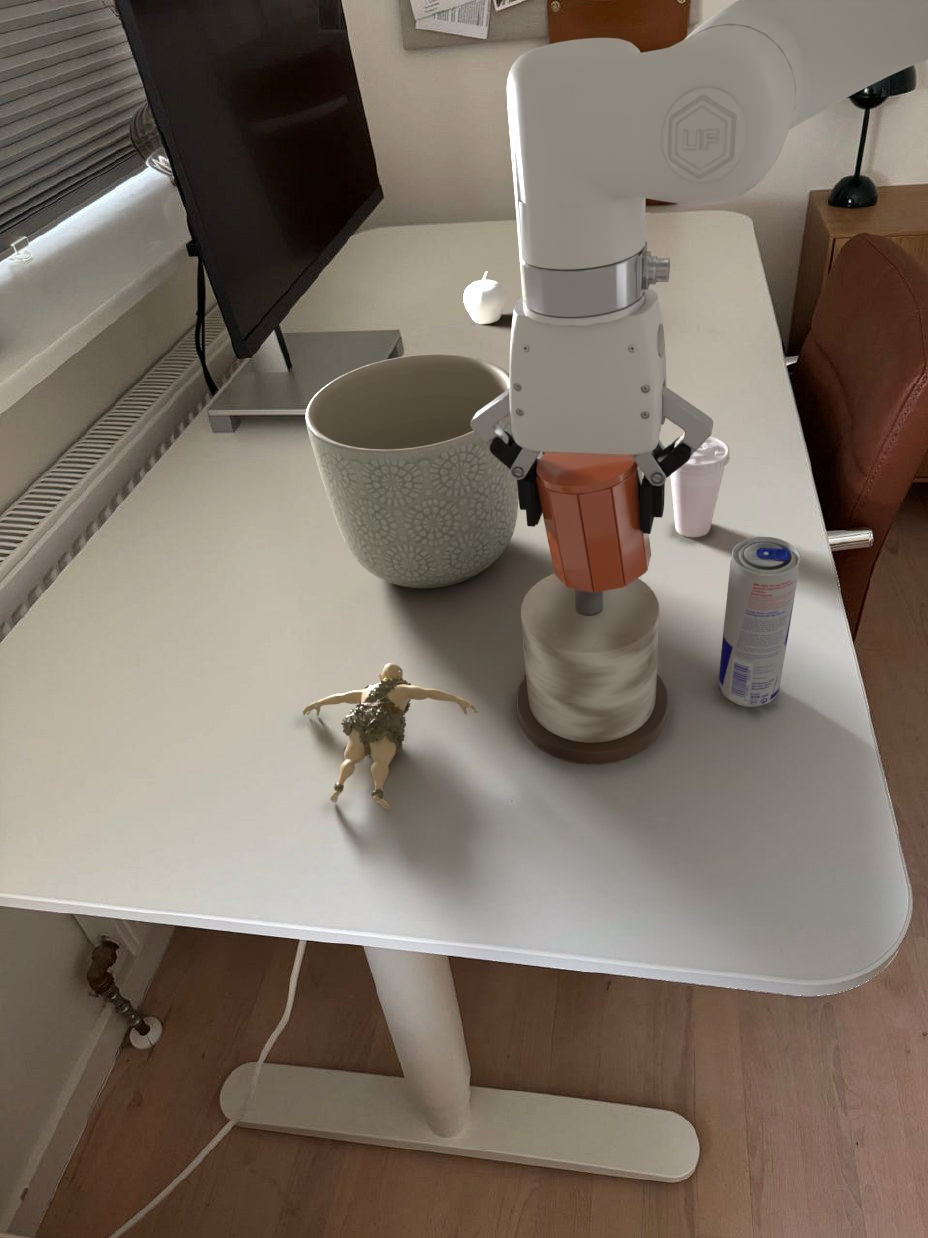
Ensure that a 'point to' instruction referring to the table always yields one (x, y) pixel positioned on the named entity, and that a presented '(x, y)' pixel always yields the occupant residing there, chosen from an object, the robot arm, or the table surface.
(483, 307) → the plain white apple
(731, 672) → the beverage can
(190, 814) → the table surface
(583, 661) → the towel holder
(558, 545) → the orange brown faceted cylinder
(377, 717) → the figurine
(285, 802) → the table surface
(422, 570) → the planter
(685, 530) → the smoothie
